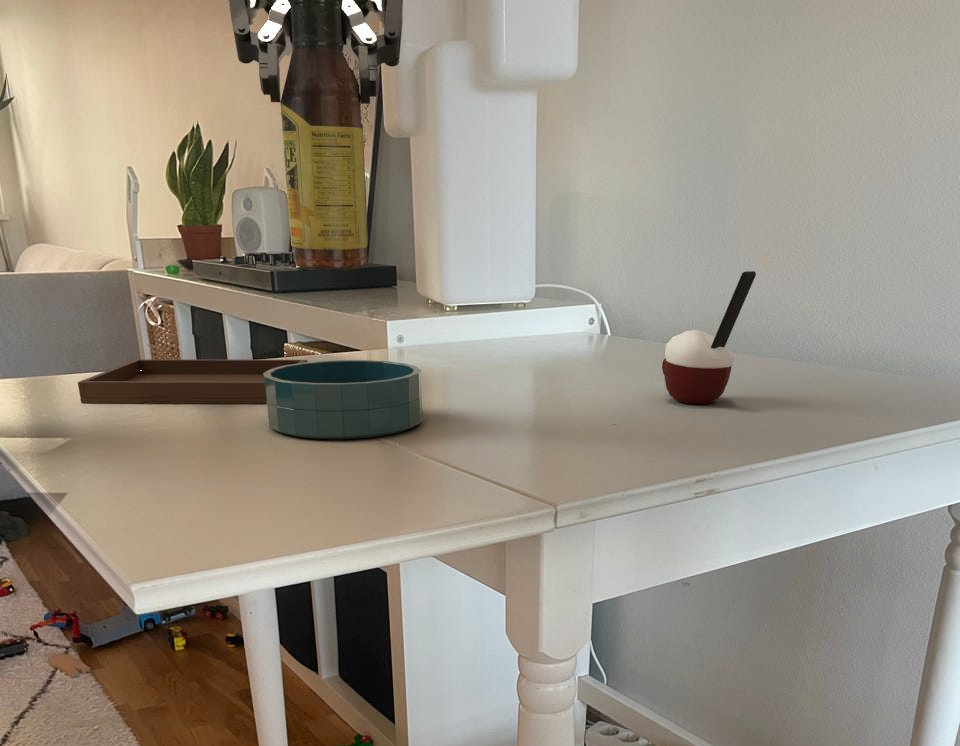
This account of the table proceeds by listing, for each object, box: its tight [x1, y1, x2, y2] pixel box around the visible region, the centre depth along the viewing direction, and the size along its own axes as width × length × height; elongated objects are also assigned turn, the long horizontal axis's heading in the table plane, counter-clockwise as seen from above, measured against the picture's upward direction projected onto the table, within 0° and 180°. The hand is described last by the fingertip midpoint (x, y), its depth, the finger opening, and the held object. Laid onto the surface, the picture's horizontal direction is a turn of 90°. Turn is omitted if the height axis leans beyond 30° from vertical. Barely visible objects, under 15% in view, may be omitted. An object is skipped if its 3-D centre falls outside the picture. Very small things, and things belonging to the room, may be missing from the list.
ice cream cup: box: [661, 270, 757, 405], centre depth 91 cm, size 10×6×12 cm, turn 10°
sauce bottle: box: [279, 0, 369, 271], centre depth 76 cm, size 7×6×20 cm
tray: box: [77, 358, 309, 405], centre depth 100 cm, size 19×15×2 cm
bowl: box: [263, 359, 423, 440], centre depth 84 cm, size 13×13×4 cm
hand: (320, 92), depth 73 cm, fingers closed on sauce bottle, 6 cm apart
